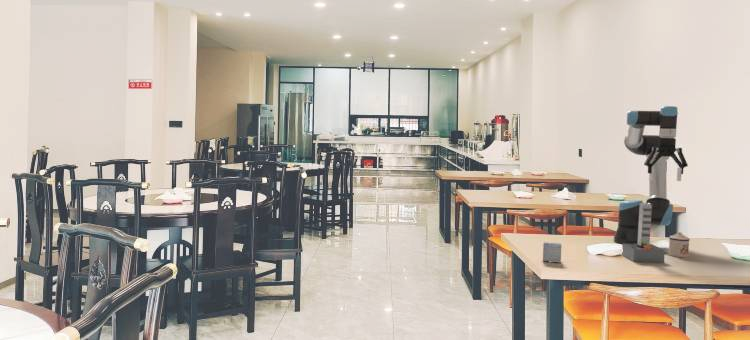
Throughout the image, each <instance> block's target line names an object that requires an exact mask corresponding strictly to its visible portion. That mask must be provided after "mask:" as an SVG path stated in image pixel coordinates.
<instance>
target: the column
mask: <svg viewBox="0 0 750 340" xmlns="http://www.w3.org/2000/svg"><path fill="white" fill-rule="evenodd" d="M645 203H646V202H643V203H640V207H639V225H638V242H637V245H639V246H644V245H650V244H651V243H650V242H651V226H652V225H651V211H652V205H651V204H645Z"/></svg>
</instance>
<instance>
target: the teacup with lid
mask: <svg viewBox="0 0 750 340" xmlns="http://www.w3.org/2000/svg"><path fill="white" fill-rule="evenodd" d="M668 239H669V241H668V255H669V256H671V257H674V258H675V257H677V258H688V257H689V251H690V248H689V247H690V246H689V245H690V237H688V236H685V235H684V234H683V233H682V232H681V231H678V232H676V233H675V234H673V235H670V236H669V237H668Z"/></svg>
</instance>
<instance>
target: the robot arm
mask: <svg viewBox="0 0 750 340" xmlns="http://www.w3.org/2000/svg"><path fill="white" fill-rule="evenodd" d="M626 114H627V115H626V125H627V126H629V127H628V131H627V134H626V135H625V136H624V140H623V141H624V142H623V143H624V146H625V147H626V149H627V150H628V151H629V152H630V153H633V154H635V155H637V156H646V157H645V158H646V160H645V161H644V166H646V167H647V174H649V176H648V180H649V181H648V182H649V186H648V187H649V188H648V189H649V191H648V192H649V193H648V194H649V195H648V199H646V201H645V202H644V201H643V199H628V200H621V201H620V202H619V203H618V205H619V206H618V221H617V228H616V231H615V234H614V236H613V242H615V243H619V244H622V245H623V243H629V244H637V242H638V225H639V207H640V203H645V204H651V205H652V211H651V226H659V227H661V226H663V227H666V226H669V225H670V224H671V222H672V219H673V213H674V205H673V204H671V202H670V199H668V198H667V196H668V193H667V192H668V190H667V188H668V187H667V160H669V159H670V157H671V158H672V160H673V161H674V162H675V163H676V165H677V166H678V167H677V171H676V181H678V182H681V181H682V175H683V174H684V169H685V168H687V167H689V166H688V163H687V161H686V158H685V156H684V153H683V148H682V147H676V141H677V139H676V137H677V123H678V114H679V113H678V107H677V106H671V105H670V106H669V105H667V106H662V107H661V108H660V110H629V111H627V113H626ZM645 126H649V127H650V126H652V127H653V126H655V127H656V126H657V127H658V126H659V131H658V132H659V133H658V134H659V135H658V134H657V135H656V134H653V135H652V134H650V135H649V134H644V132H645V131H644V130H645V128H646V127H645ZM675 152H676V153H677V155H678V156H677V155H676V153H675ZM678 157H679V158H678Z"/></svg>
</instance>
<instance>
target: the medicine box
mask: <svg viewBox="0 0 750 340" xmlns="http://www.w3.org/2000/svg"><path fill="white" fill-rule="evenodd" d="M543 261H551V262H550V263H553V262H560V263H559V264H561V261H562V242H555V241H554V242H553V241H544V242H543V248H542V262H543Z"/></svg>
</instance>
